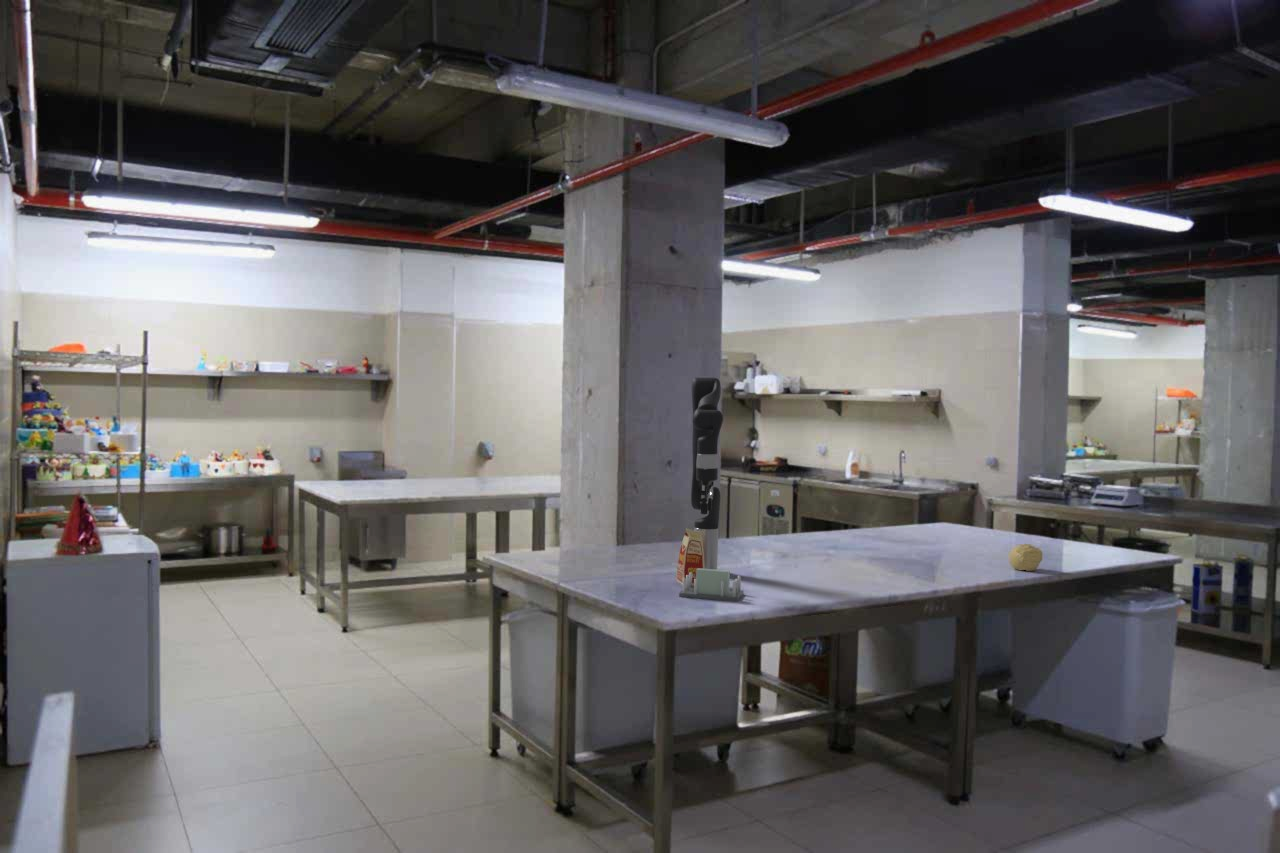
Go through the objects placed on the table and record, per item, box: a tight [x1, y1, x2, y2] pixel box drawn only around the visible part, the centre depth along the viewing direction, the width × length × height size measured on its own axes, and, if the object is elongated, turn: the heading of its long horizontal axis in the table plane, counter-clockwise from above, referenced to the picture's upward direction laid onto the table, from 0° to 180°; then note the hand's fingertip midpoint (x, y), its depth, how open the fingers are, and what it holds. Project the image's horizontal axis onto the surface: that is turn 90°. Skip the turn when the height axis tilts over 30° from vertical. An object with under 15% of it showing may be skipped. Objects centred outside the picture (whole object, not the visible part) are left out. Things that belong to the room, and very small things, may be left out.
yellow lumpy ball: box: [1008, 543, 1044, 572], centre depth 370 cm, size 11×12×11 cm
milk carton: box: [676, 528, 705, 586], centre depth 327 cm, size 9×9×20 cm
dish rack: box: [678, 572, 744, 602], centre depth 306 cm, size 12×20×6 cm, turn 75°
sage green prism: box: [696, 568, 731, 596], centre depth 303 cm, size 3×11×8 cm, turn 75°
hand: (706, 512), depth 317 cm, fingers open, 8 cm apart
